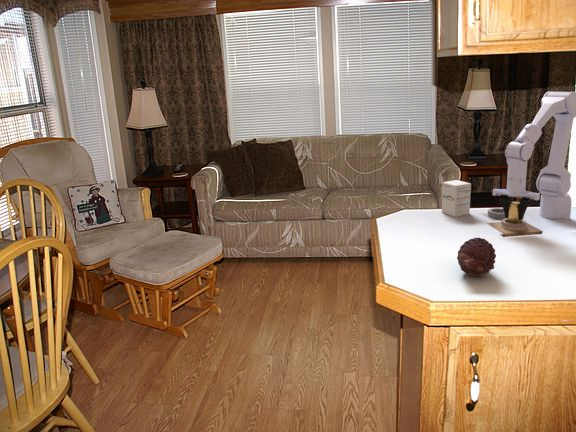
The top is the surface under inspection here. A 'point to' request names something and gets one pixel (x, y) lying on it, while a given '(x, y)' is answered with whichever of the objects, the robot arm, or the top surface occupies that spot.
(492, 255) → the pine cone
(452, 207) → the supplement box
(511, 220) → the brass peg
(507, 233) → the hub board
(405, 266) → the top surface
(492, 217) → the spline stand
